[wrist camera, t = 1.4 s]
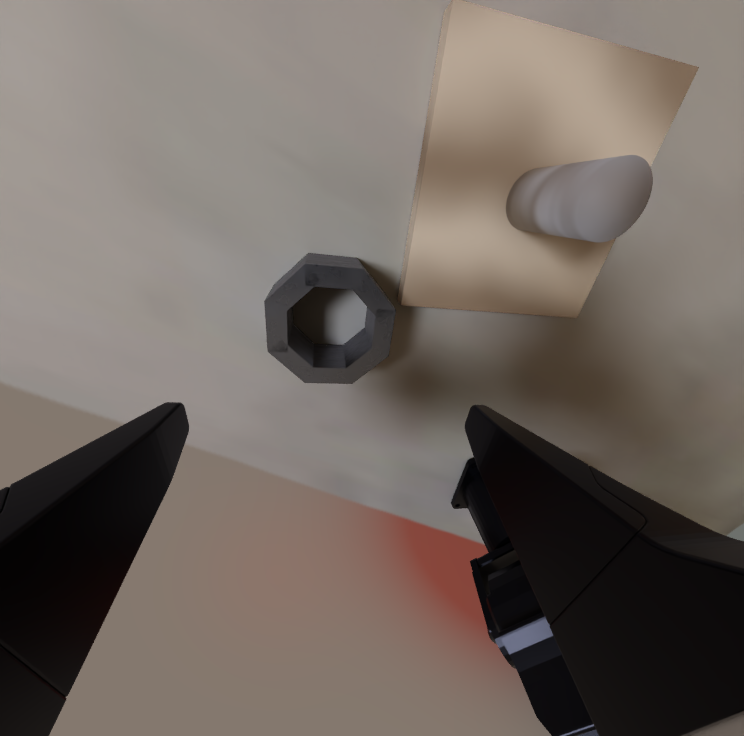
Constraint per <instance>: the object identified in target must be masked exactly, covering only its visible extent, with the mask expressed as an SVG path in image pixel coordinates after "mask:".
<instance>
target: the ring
mask: <svg viewBox="0 0 744 736" xmlns="http://www.w3.org/2000/svg"><path fill="white" fill-rule="evenodd" d="M313 287H326V288H338V289H351V290H354V292H355V293H356V294H357V295H358V296H359V298H360V299H361V300H362V301H363V302H364V303H365V305H366V306H367V313H366V322H365V328H364V329H363V330H361V331H360V332H359V333H358V334H356V335H355V336H354V337H353V338H351V339H350V340H349V341H348V342H346V343H345V344H344V345H326V344H314V343H313V342H312V341H311V340H310V339H308V338H307V337H306V336H305V335H304V334H303V333H302V332H301V331H300V330H299V329H298V328H297V327H296V326H295V325H294V324H293V305H294V304H295V303H296V302H298V301H299V300H300V299H301V298H302V297H303V296H304V295H305V294H307V293H308V292H309V291H310V290H311V289H312V288H313ZM264 302H265V317H266V332H267V348H268V352H269V353H270V354H271V355H272V356H274V357H275V358H276V359H277V360H278V361H280V362H281V363H282V364H283V365H284V366H286V367H287V368H288V369H289V370H290V371H291V372H293V373H294V374H295V375H296V376H297V377H299V378H300V379H301V380H302V381H303V382H304V383H338V384H352V383H354V382H355V381H356V380H358V379H359V378H360V377H362V376H363V375H364V374H366V373H367V372H368V371H370V370H371V369H372V368H373V367H375V366H376V365H377V364H379V363H380V362H381V361H383V360H384V359H385V358H387V357H388V356H389V350H390V343H391V337H392V331H393V325H394V319H395V313H396V310H395V308H394V306H393V305H392V303H391V302H390V300H389V299H388V297H387V296H386V294H385V293H384V292H383V290H382V289H381V288H380V287H379V285H378V284H377V283H376V281H375V280H374V279H373V278H372V276H371V275H370V274H369V272H368V271H367V270H366V269H365V267H364V266H363V265H362V264H361V262H360V261H359V260H358V258H353V257H343V256H333V255H323V254H313V253H308V254H307V255H306V256H305V257H303V258H302V259H301V260H300V261H299V262H298V263H297V264H296V265H295V266H294V267H293V268H292V269H291V270H289V271H288V272H287V273H286V274H285V275H284V276H283V277H282V278H281V279H280V280H279V281H278V282H277V283H275V284H274V285H273V287H272V289H271V291H270V292H269V294H268V296H267V298H266V299H265V301H264Z"/></svg>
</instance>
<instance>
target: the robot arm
mask: <svg viewBox="0 0 744 736" xmlns="http://www.w3.org/2000/svg"><path fill="white" fill-rule="evenodd" d="M465 431H466V434H467V437H468V440H469V443H470V446H471V449H472V452H473V455H474V458H475V459H471V460H469V461H467V463H466V466H465V468H464V471H463V473H462V476H461V478H460V481H459V484H458V486H457V489H456V491H455V494H454V496H453V499H452V501H451V504H452V507H453V508H454V509H459V508H468V509H469V511H470V514H471V516H472V518H473V520H474V522H475V524H476V526H477V529H478V531H479V533H480V535H481V537H482V539H483V541H484V543H485V546H486V548H487V550H488V552H489V553H487V554H486V555H484V556H482V557H480V558H478V559H477V558H475V559H473V560H471V561H470V563H471V567H472V570H473V572H472V573H473V577H474V581H475V585H476V588H477V592H478V596H479V599H480V603H481V606H482V610H483V614H484V617H485V621H486V624H487V629H488V634H489V636H490V639H491V640H492V641H493V642H494V643H496V644H497V645H498V647H499V649H500V650H501V652H502V654H503V656H504V657H505V658H506V660H507V661H508V663H509V664H510V665H511V666H512V667H513V668H516V669H517V671H518V673H519V676H520V678H521V680H522V683H523V685H524V688H525V690H526V692H527V695H528V697H529V700H530V702H531V705H532V707H533V709H534V712H535V714H536V716H537V718H538V719H539V720H540V722H541V723H542V724H543V725H544V727H545V728H546V729H547V730H548V731H549V733H550V734H551V735H552V736H744V541H740V540H736V539H733V538H730V537H727V536H724V535H722V534H719V533H717V532H714V531H712V530H710V529H708V528H706V527H704V526H702V525H700V524H698V523H696V522H694V521H692V520H690V519H688V518H686V517H685V516H683V515H681V514H679V513H677V512H675V511H673V510H671V509H669V508H667V507H665V506H663V505H661V504H659V503H657V502H656V501H654V500H652V499H650V498H648V497H646V496H644V495H642V494H640V493H638V492H636V491H635V490H633V489H631V488H629V487H627V486H625V485H623V484H622V483H620V482H618V481H616V480H614V479H613V478H611V477H609V476H607V475H605V474H604V473H602V472H600V471H598V470H597V469H595V468H593V467H591V466H588V464H586V463H584V462H583V461H581V460H579V459H577V458H576V457H574V456H572V455H570V454H569V453H567V452H565V451H563V450H562V449H560V448H558V447H556V446H555V445H553V444H551V443H550V442H548V441H546V440H544V439H543V438H541V437H539V436H537V435H536V434H534V433H532V432H530V431H529V430H527V429H525V428H523V427H522V426H520V425H518V424H516V423H515V422H513V421H511V420H509V419H508V418H506V417H504V416H503V415H501V414H499V413H497V412H496V411H494V410H492V409H490V408H489V407H487V406H485V405H473V406H472V407H471V408H470V411H469V414H468V417H467V420H466V422H465ZM188 432H189V423H188V419H187V415H186V411H185V407H184V405H183V404H182V403H176V402H167V403H164V404H162V405H160V406H158V407H156V408H154V409H152V410H151V411H149V412H147V413H145V414H143V415H141V416H139V417H137V418H136V419H134V420H132V421H130V422H128V423H126V424H124V425H123V426H120V427H119V428H117V429H115V430H113V431H111V432H109V433H107V434H105V435H104V436H102V437H100V438H98V439H96V440H94V441H92V442H90V443H88V444H87V445H85V446H83V447H81V448H79V449H77V450H75V451H73V452H72V453H70V454H68V455H66V456H64V457H62V458H60V459H58V460H56V461H55V462H53V463H51V464H49V465H47V466H45V467H43V468H42V469H39V470H38V471H36V472H34V473H32V474H30V475H28V476H26V477H24V478H23V479H21V480H19V481H17V482H15V483H13V484H11V486H10V487H5V488H4V489H2V490H0V736H49V734H50V732H51V730H52V728H53V726H54V724H55V722H56V720H57V718H58V715H59V714H60V711H61V709H62V707H63V705H64V703H65V701H66V696H67V695H68V694H69V692H70V690H71V688H72V686H73V684H74V682H75V680H76V678H77V676H78V674H79V672H80V669H81V667H82V665H83V663H84V661H85V659H86V657H87V655H88V653H89V651H90V649H91V646H92V644H93V643H94V640H95V638H96V636H97V634H98V632H99V630H100V628H101V626H102V624H103V622H104V620H105V618H106V616H107V614H108V612H109V609H110V607H111V605H112V603H113V601H114V599H115V597H116V595H117V593H118V591H119V589H120V587H121V585H122V583H123V580H124V578H125V576H126V574H127V572H128V570H129V568H130V566H131V564H132V562H133V560H134V557H135V556H136V554H137V551H138V549H139V547H140V545H141V543H142V541H143V539H144V537H145V535H146V533H147V531H148V529H149V527H150V525H151V523H152V520H153V518H154V516H155V514H156V512H157V510H158V508H159V506H160V504H161V502H162V500H163V497H164V496H165V494H166V491H167V489H168V487H169V485H170V483H171V481H172V478H173V475H174V473H175V470H176V467H177V464H178V461H179V458H180V455H181V452H182V449H183V447H184V444H185V441H186V438H187V435H188Z"/></svg>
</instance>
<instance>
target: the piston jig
mask: <svg viewBox="0 0 744 736" xmlns="http://www.w3.org/2000/svg"><path fill="white" fill-rule="evenodd" d="M698 68H699V67H696V66H692V65H689V64H685V63H682V62H678V61H675V60H671V59H668V58H664V57H661V56H657V55H653V54H650V53H646V52H643V51H639V50H636V49H632V48H629V47H625V46H622V45H618V44H615V43H611V42H608V41H604V40H601V39H597V38H593V37H590V36H586V35H583V34H579V33H576V32H572V31H569V30H565V29H562V28H558V27H555V26H551V25H548V24H544V23H541V22H537V21H533V20H530V19H526V18H523V17H519V16H516V15H512V14H509V13H505V12H502V11H498V10H495V9H491V8H488V7H484V6H480V5H477V4H473V3H470V2H466V1H463V0H452V1H451V2H450V4H449V5H448V7H447V8H446V10H445V12H444V15H443V21H442V27H441V34H440V40H439V46H438V52H437V58H436V64H435V71H434V77H433V83H432V89H431V95H430V101H429V108H428V114H427V120H426V126H425V132H424V138H423V144H422V151H421V157H420V163H419V169H418V175H417V181H416V188H415V194H414V200H413V206H412V212H411V218H410V224H409V231H408V237H407V243H406V249H405V255H404V261H403V268H402V274H401V280H400V286H399V292H398V298H397V300H398V302H399V303H400V305H405V306H418V307H432V308H446V309H460V310H474V311H488V312H502V313H516V314H530V315H544V316H557V317H571V318H577V317H578V315H579V313H580V311H581V309H582V307H583V305H584V303H585V301H586V299H587V297H588V295H589V292H590V290H591V288H592V286H593V284H594V282H595V280H596V278H597V276H598V274H599V272H600V270H601V268H602V266H603V264H604V262H605V260H606V258H607V255H608V253H609V251H610V249H611V247H612V245H613V243H614V241H615V239H616V238H617V237H618V236H620V235H622V234H623V233H624V232H626V231H627V230H628V229H629V228H630V227H631V226H632V225H633V224H634V223H635V222H636V220H637V219H638V218H639V217H640V215H641V214H642V212H643V210H644V208H645V207H646V205H647V202H648V200H649V197H650V194H651V190H652V183H653V177H652V171H651V168H650V167H651V165H652V163H653V161H654V159H655V157H656V155H657V153H658V151H659V149H660V146H661V144H662V142H663V140H664V138H665V136H666V134H667V132H668V130H669V128H670V126H671V124H672V122H673V120H674V118H675V116H676V114H677V112H678V109H679V107H680V105H681V103H682V101H683V99H684V97H685V95H686V93H687V91H688V89H689V87H690V85H691V83H692V81H693V79H694V77H695V74H696V72H697V70H698Z"/></svg>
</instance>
